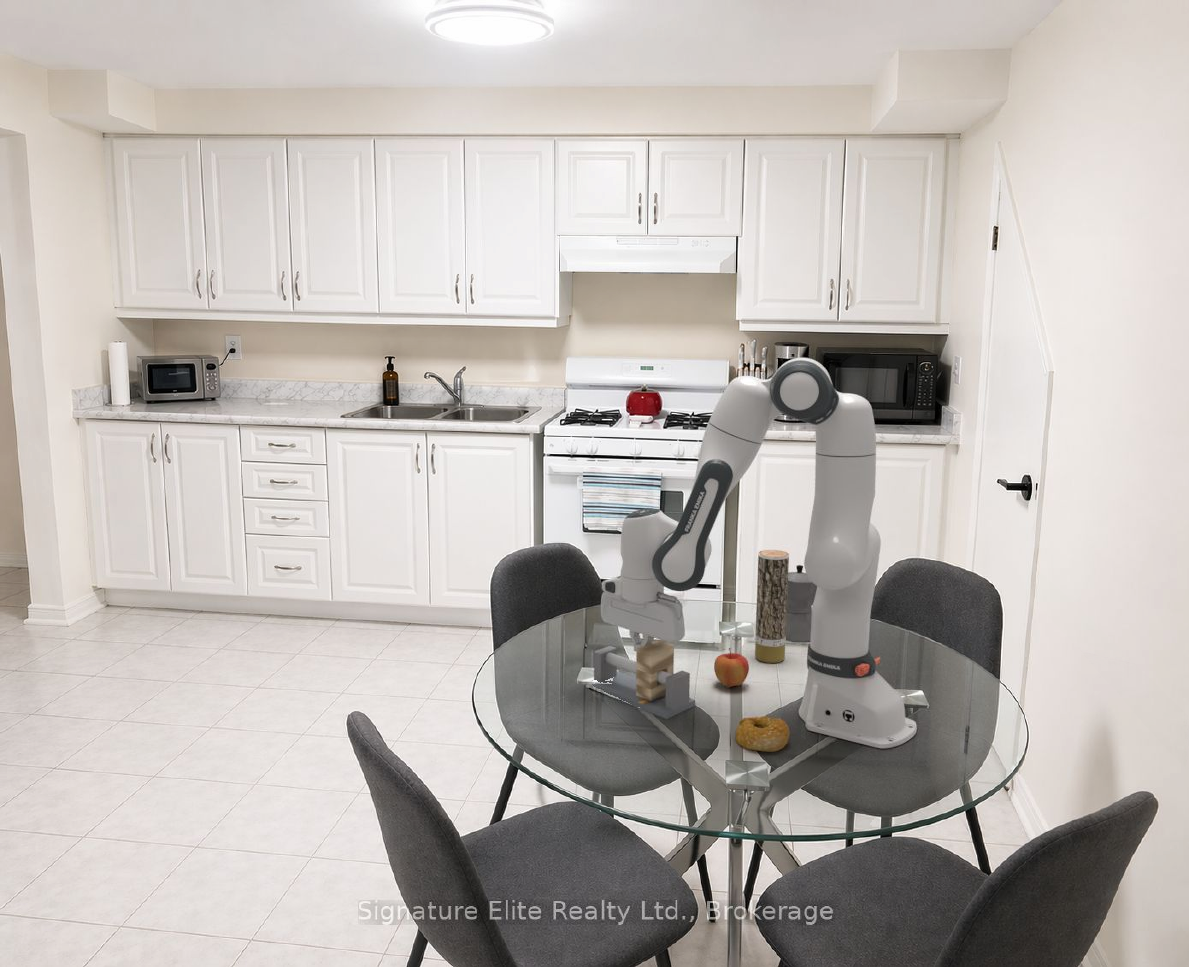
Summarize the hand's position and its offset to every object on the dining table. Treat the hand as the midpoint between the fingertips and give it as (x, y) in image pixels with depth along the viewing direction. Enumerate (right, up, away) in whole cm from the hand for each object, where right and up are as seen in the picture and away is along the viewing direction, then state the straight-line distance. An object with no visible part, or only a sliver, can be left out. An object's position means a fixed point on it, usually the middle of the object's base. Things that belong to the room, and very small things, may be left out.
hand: (641, 652), depth 196 cm
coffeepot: (+41, -3, +38) cm, 56 cm away
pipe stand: (0, -10, +2) cm, 10 cm away
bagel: (+22, -14, -18) cm, 31 cm away
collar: (+3, -8, -1) cm, 9 cm away
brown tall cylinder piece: (+31, -6, +23) cm, 39 cm away
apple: (+19, -9, +8) cm, 23 cm away
